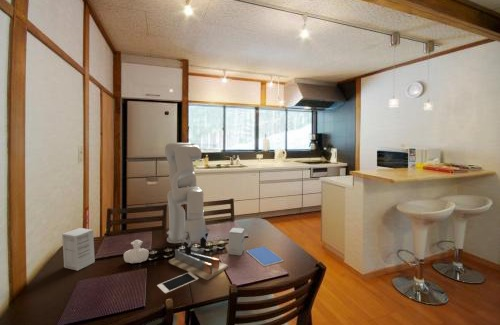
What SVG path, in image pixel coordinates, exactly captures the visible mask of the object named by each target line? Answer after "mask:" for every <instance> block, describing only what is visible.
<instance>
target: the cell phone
mask: <svg viewBox="0 0 500 325" xmlns="http://www.w3.org/2000/svg"><path fill="white" fill-rule="evenodd" d="M199 279H200V278H199V276H197V275H195V274H193V273H191V272H188V271H187V272H186V273H183V274H181V275H178V276H175V277H174V278H171V279H169V280H166V281H164V282H161V283H159V284H157V285H156V286H157V287H158V288H159V289H160V290H161V291H162V292H163V293H164V294H168V293H170V292H172V291H175V290H177V289H179V288H182V287H184V286H186V285H188V284H191V283H193V282H195V281H198V280H199Z"/></svg>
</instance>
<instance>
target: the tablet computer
mask: <svg viewBox="0 0 500 325" xmlns="http://www.w3.org/2000/svg"><path fill="white" fill-rule="evenodd" d="M246 253H247V254H248V255H249V256H251V257H252V258H253V259H254V260H255V261H257V263H259V264H260V265H261V266H262V267H268V266H272V265H276V264H279V263H284V262H285V261H284V259H283V258H281V257H280V256H279V255H277V254H276V253H274V252H273V251H272V250H270V249H268V248H267V247H266V246H260V247H256V248H251V249H247V250H246Z"/></svg>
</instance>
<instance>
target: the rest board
mask: <svg viewBox="0 0 500 325" xmlns="http://www.w3.org/2000/svg"><path fill="white" fill-rule="evenodd" d="M168 263H169V264H170V265H172V266H175V267H177V268H179V269H181V270H184V271H186V272H187V273H188V272H191V273H192V274H194V275H195V276H196V277H198V278H199V277H200V278H202V279H204V280H206V281H209V280H210V279H212V278H214V277H216V276H217V275H219V274H220V273H221V272H224V270H225V271H226V269H228V268H227V267H229V265H228V264H226V263H223V262H220V261H219V268H214V267H212V274H208V273H206V272H204V271H201V270H199V269H197V268H194V267H192V266H190V265H187V264H185V263H183V262H180V261H178V260H176V259H175V257H173V258H171V259H169V260H168Z"/></svg>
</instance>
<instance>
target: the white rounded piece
mask: <svg viewBox="0 0 500 325" xmlns="http://www.w3.org/2000/svg"><path fill="white" fill-rule="evenodd" d="M142 244H143V241H142V240H140V239H135V240H133V241H132V242H130V245H131V246H132V247H133V248H132V249H129V250H126V251H125V252H124V253H123V260H124V262H125V263H130V264H137V263H142V262H145V261H147V260H148V258H149V256H150V255H149V254H150V252H149V250H148V249H147V248H141V246H142Z"/></svg>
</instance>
